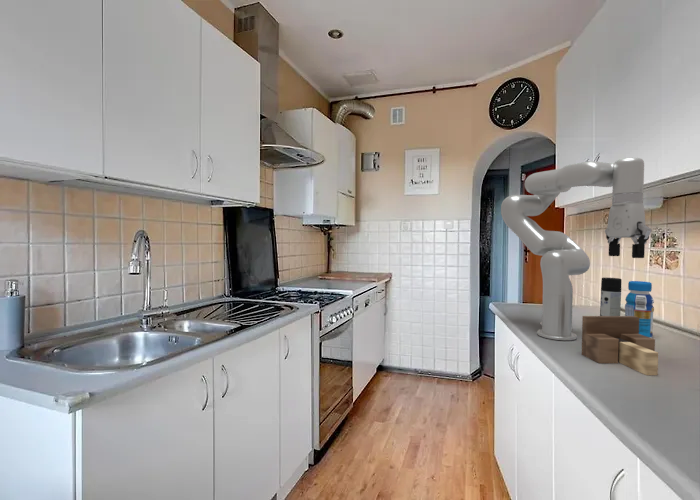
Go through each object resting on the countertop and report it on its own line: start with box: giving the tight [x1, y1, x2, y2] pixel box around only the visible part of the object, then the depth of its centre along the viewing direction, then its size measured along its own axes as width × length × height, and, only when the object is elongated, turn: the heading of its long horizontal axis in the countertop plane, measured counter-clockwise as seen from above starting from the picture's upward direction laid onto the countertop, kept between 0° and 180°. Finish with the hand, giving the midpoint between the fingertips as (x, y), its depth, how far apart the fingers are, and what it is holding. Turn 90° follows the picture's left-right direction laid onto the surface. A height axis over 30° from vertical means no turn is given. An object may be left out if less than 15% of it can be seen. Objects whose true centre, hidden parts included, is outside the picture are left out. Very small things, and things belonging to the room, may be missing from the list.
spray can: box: [599, 277, 623, 316], centre depth 148 cm, size 7×7×20 cm
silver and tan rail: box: [617, 338, 659, 376], centre depth 105 cm, size 14×3×6 cm, turn 0°
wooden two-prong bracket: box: [581, 315, 656, 364], centre depth 111 cm, size 8×16×12 cm, turn 90°
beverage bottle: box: [624, 280, 655, 338], centre depth 136 cm, size 8×8×20 cm
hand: (625, 256), depth 113 cm, fingers open, 9 cm apart
